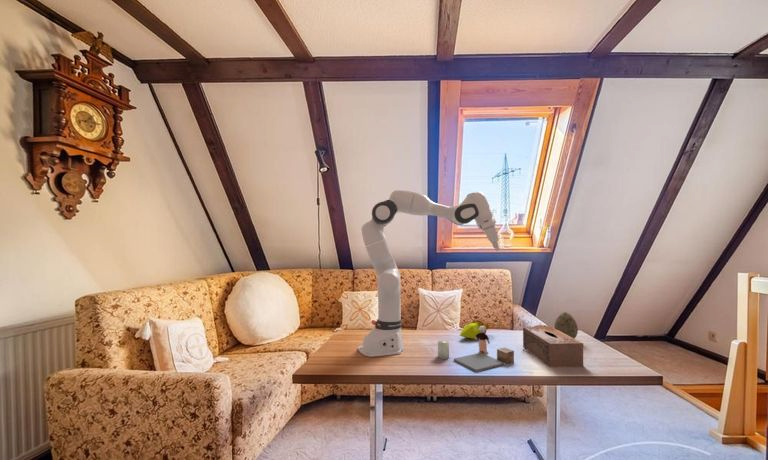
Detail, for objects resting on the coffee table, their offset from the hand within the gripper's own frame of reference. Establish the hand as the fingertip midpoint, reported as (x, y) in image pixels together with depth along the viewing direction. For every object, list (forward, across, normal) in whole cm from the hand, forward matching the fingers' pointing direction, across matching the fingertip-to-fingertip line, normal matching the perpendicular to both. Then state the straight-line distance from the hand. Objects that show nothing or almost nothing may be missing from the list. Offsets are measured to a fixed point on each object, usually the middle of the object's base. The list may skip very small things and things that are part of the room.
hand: (496, 249), depth 169 cm
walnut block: (+45, +20, -16) cm, 52 cm away
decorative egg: (+60, -16, +15) cm, 64 cm away
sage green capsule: (+35, +21, -41) cm, 57 cm away
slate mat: (+40, +25, -27) cm, 54 cm away
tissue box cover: (+54, +8, +4) cm, 55 cm away
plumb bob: (+43, -13, -27) cm, 53 cm away
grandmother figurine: (+42, +11, -25) cm, 50 cm away
